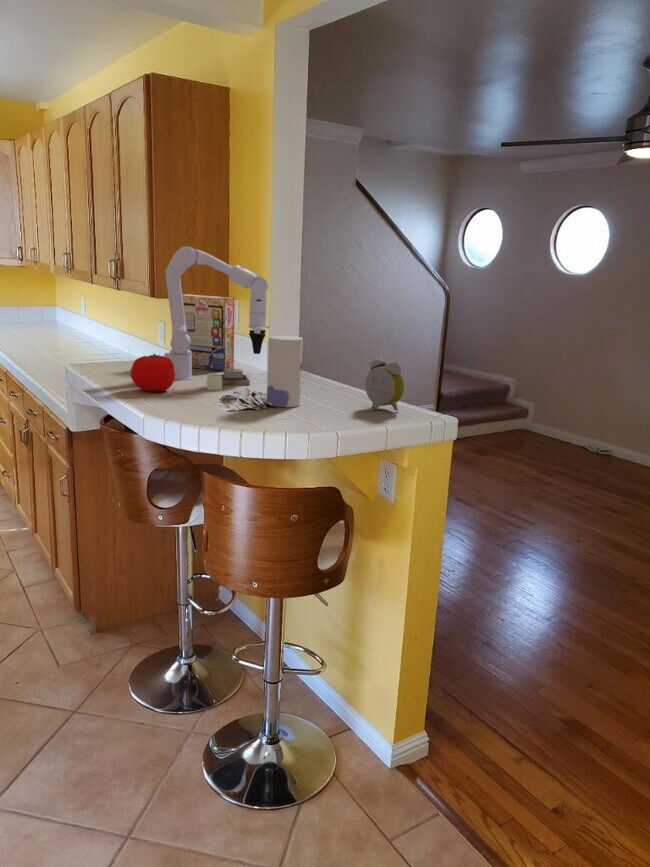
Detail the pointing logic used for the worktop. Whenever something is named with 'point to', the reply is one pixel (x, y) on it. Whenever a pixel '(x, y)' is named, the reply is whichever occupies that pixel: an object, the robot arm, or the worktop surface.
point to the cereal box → (210, 331)
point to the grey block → (232, 374)
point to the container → (284, 370)
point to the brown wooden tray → (235, 381)
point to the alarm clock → (384, 383)
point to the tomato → (153, 373)
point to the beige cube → (214, 382)
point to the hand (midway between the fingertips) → (256, 352)
